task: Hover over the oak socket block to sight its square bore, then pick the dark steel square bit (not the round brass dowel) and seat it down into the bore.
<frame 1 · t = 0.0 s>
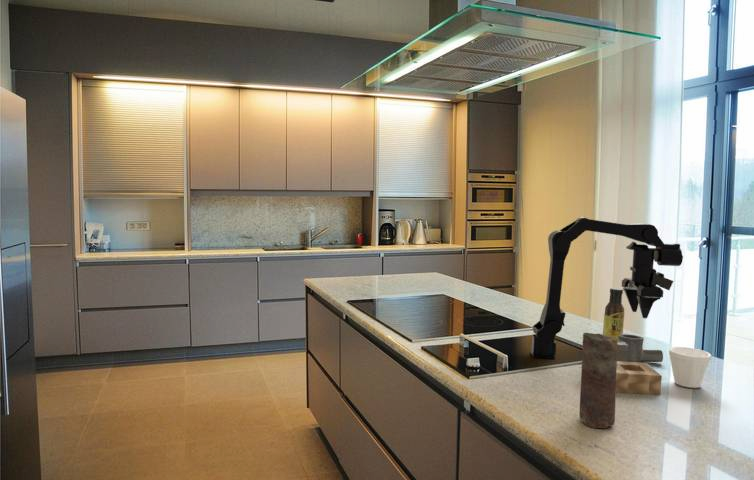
hand: (639, 314, 167), 15 cm above the worktop, fingers open, 9 cm apart
sauce bottle: (611, 346, 185), on the worktop
round dowel: (592, 378, 151), on the worktop
brown stone pillar: (596, 423, 121), on the worktop
socket block: (630, 385, 146), on the worktop
pipe: (638, 362, 168), on the worktop
square bit: (618, 369, 159), on the worktop
cup: (687, 385, 148), on the worktop
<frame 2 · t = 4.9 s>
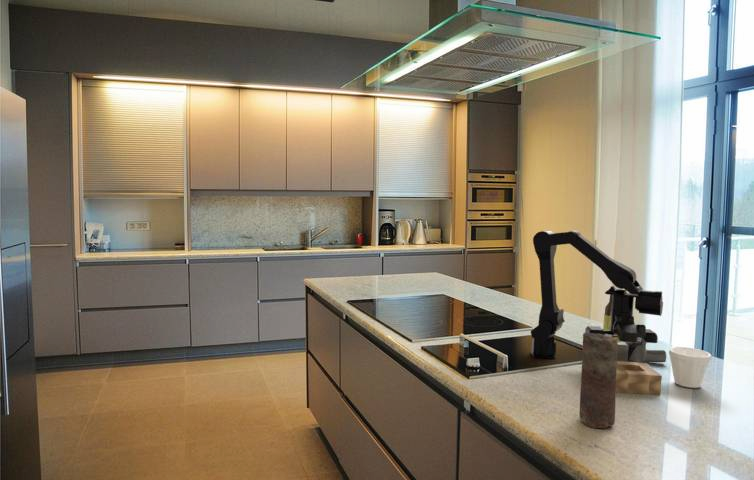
hand: (618, 363, 159), 2 cm above the worktop, fingers closed on square bit, 4 cm apart
square bit: (618, 369, 159), on the worktop, touching gripper
when the fingers open (5 cm above the worktop, at t = 8.9 s): square bit drops 3 cm, resting in socket block.
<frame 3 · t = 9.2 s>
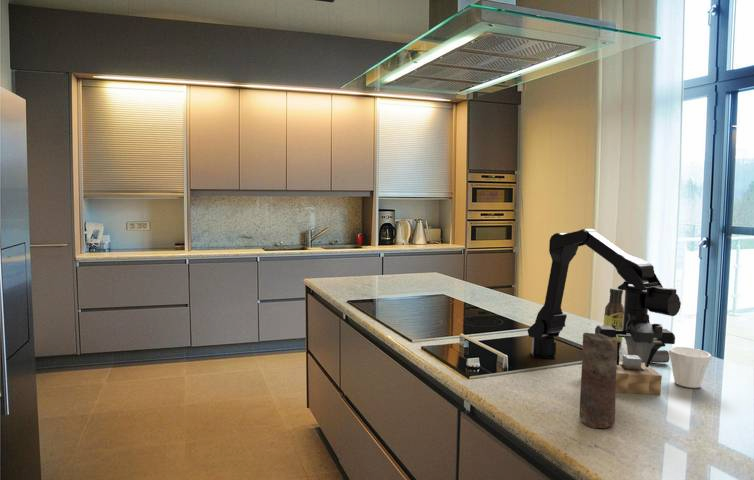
hand: (632, 365, 145), 5 cm above the worktop, fingers open, 7 cm apart
square bit: (630, 385, 146), resting in socket block
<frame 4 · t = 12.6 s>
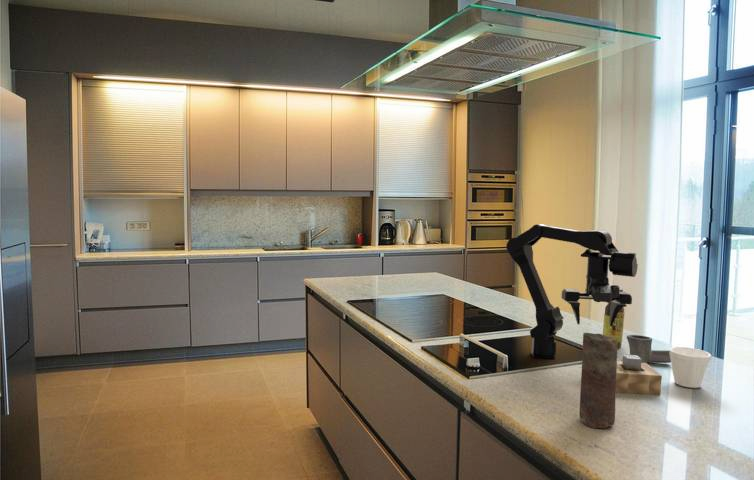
hand: (594, 325, 161), 13 cm above the worktop, fingers open, 9 cm apart
at the end: square bit 0.1 cm off-centre on the socket block, point 0.0 cm above the socket block's base; square bit tilted 0°; the gripper is holding nothing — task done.
